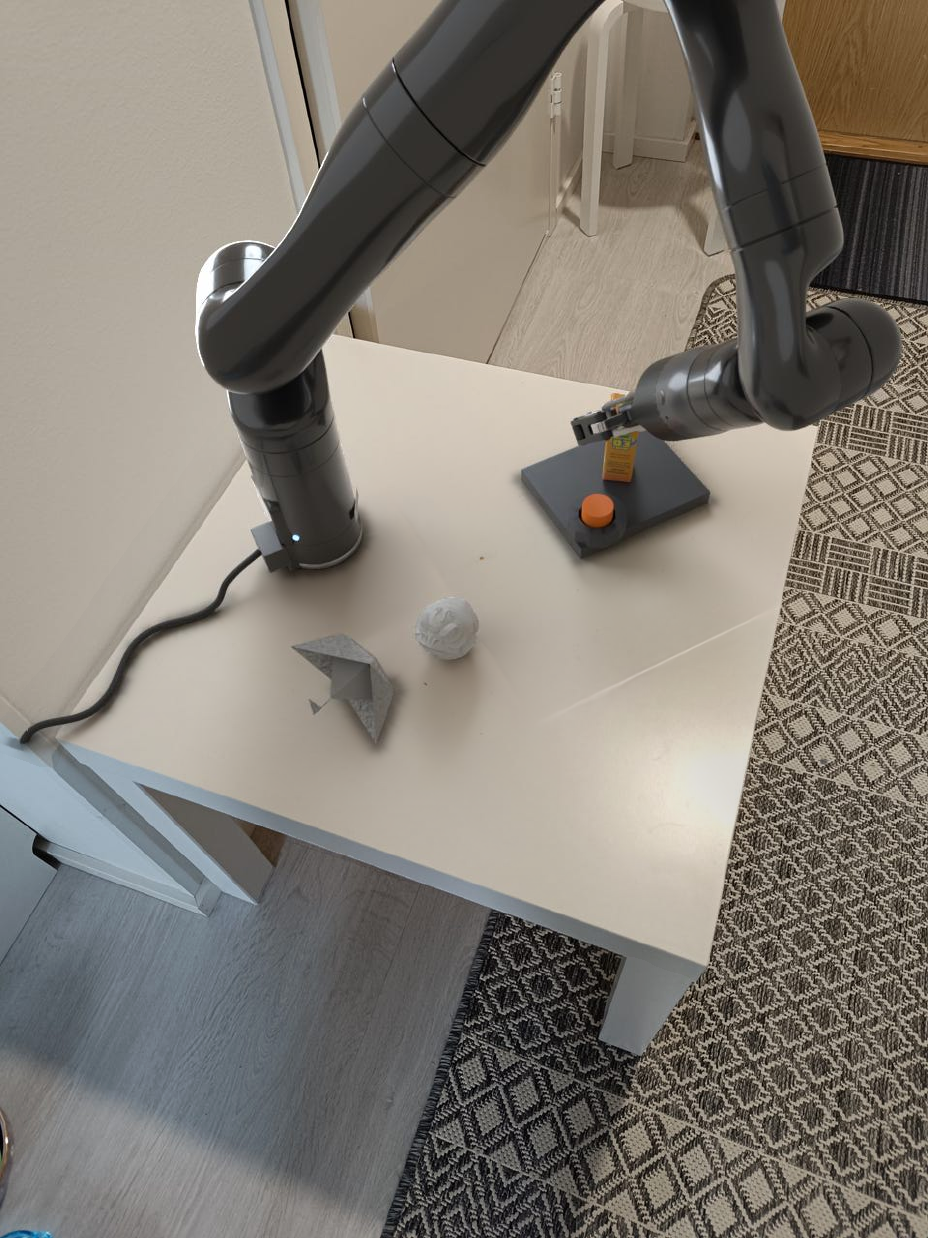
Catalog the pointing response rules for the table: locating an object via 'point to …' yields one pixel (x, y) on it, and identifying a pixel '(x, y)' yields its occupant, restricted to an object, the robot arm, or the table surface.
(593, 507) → the tare button
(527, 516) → the table surface
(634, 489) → the scale
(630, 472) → the supplement box
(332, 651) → the gray faceted winged figurine
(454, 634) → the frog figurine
